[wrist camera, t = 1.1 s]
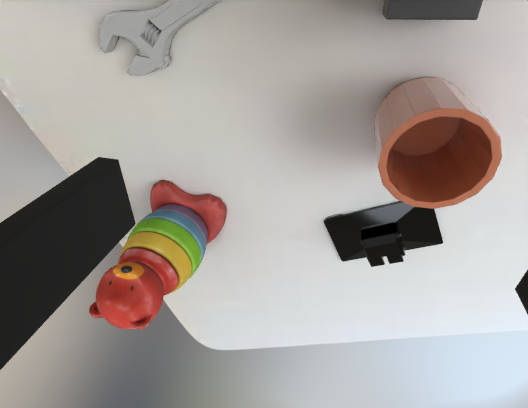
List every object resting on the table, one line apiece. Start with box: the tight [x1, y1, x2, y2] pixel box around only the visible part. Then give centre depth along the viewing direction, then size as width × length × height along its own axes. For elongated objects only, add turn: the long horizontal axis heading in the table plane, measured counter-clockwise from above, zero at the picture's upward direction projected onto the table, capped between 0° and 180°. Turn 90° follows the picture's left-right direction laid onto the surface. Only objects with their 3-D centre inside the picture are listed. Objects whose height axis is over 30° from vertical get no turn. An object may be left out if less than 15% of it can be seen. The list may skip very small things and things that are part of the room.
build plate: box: [324, 201, 443, 267], centre depth 38 cm, size 12×7×5 cm, turn 116°
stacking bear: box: [89, 180, 226, 329], centre depth 39 cm, size 11×10×18 cm
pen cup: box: [374, 77, 502, 209], centre depth 28 cm, size 8×8×10 cm
